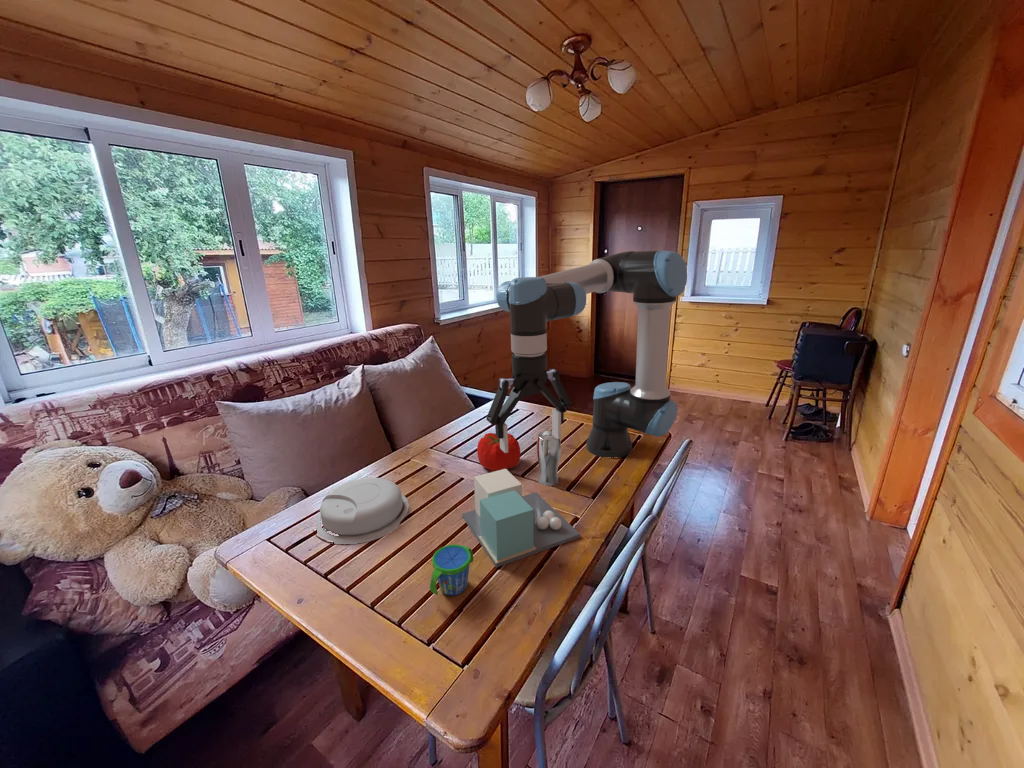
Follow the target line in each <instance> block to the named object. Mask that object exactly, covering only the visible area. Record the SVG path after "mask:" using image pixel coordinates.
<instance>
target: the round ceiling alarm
mask: <svg viewBox="0 0 1024 768" xmlns="http://www.w3.org/2000/svg"><path fill="white" fill-rule="evenodd" d="M402 509H403V510H402ZM409 509H410V508H409V501H408V498H407V497H406V496H405V495H404V494H402V491H401V489H400V487H399V486H398V485H397V484H396V483H395V482H393V481H392V480H389V479H386V478H382V477H362V478H356V479H353V480H349V481H346V482H345V483H342V484H340V485H338V486H336V487H335V488H333V489H332V490H331V491H329V492H328V493H327V494H326V495H325V497H324V498H323V500H322V502H321V505H320V508H319V511H320V514H319V515H318V517H317V520H316V527H317V528H316V530H317V533H318V534H319V535H320V536H322V537H324V538H325V539H328V540H331V541H333V542H334V545H341V544H344V545H343V546H345V544H350V545H357V544H358V543H359V544H363V543H364V544H365V543H368V542H371V541H375V540H378V539H381V538H383V537H385V536H387V535H389V534H390V533H393V532H395V530H396V529H397V528H399V526H401V522H402V521H403V520H404V519H405V517H406V516H407V514H408V512H409ZM400 513H401V514H400ZM399 515H400V516H399ZM398 516H399V517H398ZM321 519H322V524H323V526H324V527H323V528H322V527H321V523H320V521H321ZM323 529H324V530H323ZM325 529H326V530H325ZM327 531H331V532H332V533H335V534H338V535H339V536H334V535H331V534H329V533H327Z"/></svg>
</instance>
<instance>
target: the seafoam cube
mask: <svg viewBox="0 0 1024 768" xmlns="http://www.w3.org/2000/svg"><path fill="white" fill-rule="evenodd" d="M480 519H481V538H482V539H483V540H484V542H485V543H486V545H487V546H488V548H489V549H490V551H491V552H492V554H493V555H494V557H495V558H496V559H497V560H500V559H503V558H506V557H509V556H512V555H514V554H517V553H520V552H523V551H526V550H529V549H531V548H533V509H532V508H531V506H530V505H529V504H528V503H527V502H526V501H525V500H524V499H523V498H522V497H521V496H520V495H519V494H518V493H517V492H516V491H515V490H514V491H510V492H506V493H503V494H499V495H496V496H492V497H489V498H485V499H481V500H480Z"/></svg>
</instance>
